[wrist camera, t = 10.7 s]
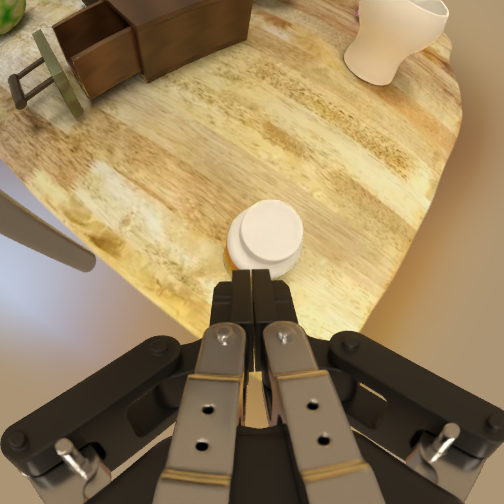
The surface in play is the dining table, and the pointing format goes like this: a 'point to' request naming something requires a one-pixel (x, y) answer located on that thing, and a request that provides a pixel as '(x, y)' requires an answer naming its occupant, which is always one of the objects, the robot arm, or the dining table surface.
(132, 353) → the robot arm
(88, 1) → the mug
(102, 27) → the drawer
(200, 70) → the dining table surface
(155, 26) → the cabinet
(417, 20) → the cup
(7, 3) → the decorative ball
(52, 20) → the dining table surface
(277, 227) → the supplement bottle
